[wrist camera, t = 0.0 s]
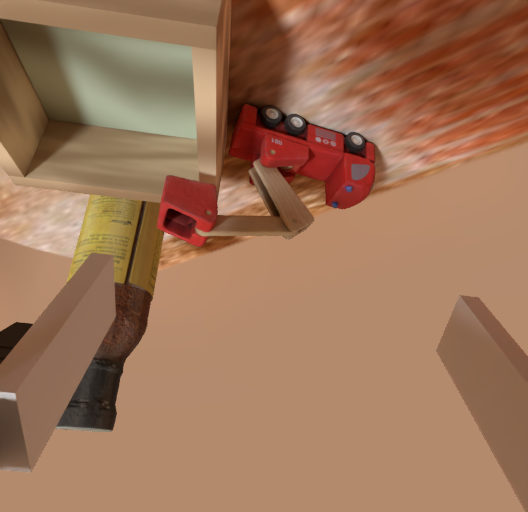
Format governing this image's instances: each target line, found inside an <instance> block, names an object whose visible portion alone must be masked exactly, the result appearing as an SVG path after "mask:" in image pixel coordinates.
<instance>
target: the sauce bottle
mask: <svg viewBox="0 0 528 512" xmlns="http://www.w3.org/2000/svg"><path fill="white" fill-rule="evenodd" d="M159 209H160V203H157V202H149V201H141V200H133V199H125V198H116V197H108V196H100V195H92V194H90V197H89V201H88V205H87V208H86V212H85V216H84V220H83V224H82V228H81V231H80V235H79V239H78V242H77V246H76V250H75V253H74V257H73V261H72V265H71V268H70V272H69V276H68V279H67V282H68V281H69V280H70V279H71V277H72V276H73V275H74V274H75V273H76V271H77V270H78V269H79V268H80V266H81V265H82V264H83V263H84V262H85V260H86V259H87V258H88V257H89V255H90V254H91V253H100V254H109V255H113V261H114V284H115V308H116V317H115V319H114V321H113V322H112V324H111V326H110V328H109V330H108V332H107V333H106V335H105V337H104V339H103V341H102V343H101V345H100V346H99V348H98V350H97V352H96V354H95V356H94V357H93V359H92V361H91V363H90V365H89V367H88V369H87V370H86V372H85V374H84V376H83V378H82V380H81V381H80V383H79V385H78V387H77V389H76V391H75V392H74V394H73V396H72V398H71V400H70V402H69V404H68V405H67V407H66V409H65V411H64V413H63V415H62V416H61V418H60V420H59V422H58V424H57V426H56V427H55V429H65V430H82V431H94V432H111V431H112V430H113V427H114V423H115V418H116V414H117V412H116V406H115V402H116V398H117V392H118V388H119V382H120V377H121V375H122V373H123V366H124V362H125V360H126V358H127V357H128V356H129V355H130V353H131V352H132V351H133V349H134V348H135V347H136V346H137V344H138V343H139V342H140V340H141V338H142V336H143V335H144V333H145V330H146V327H147V321H148V314H149V308H150V302H151V301H152V299H153V294H154V288H155V281H156V276H157V270H158V264H159V259H160V253H161V247H162V241H163V235H164V231H162V230H160V229H158V228H157V222H158V215H159ZM66 284H67V283H66Z"/></svg>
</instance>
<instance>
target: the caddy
mask: <svg viewBox="0 0 528 512" xmlns="http://www.w3.org/2000/svg"><path fill="white" fill-rule="evenodd" d="M231 6H232V0H0V165H1V166H2V168H3V169H4V170H5V172H6V173H7V174H8V176H9V177H10V178H11V180H12V181H13V182H14V184H15V185H20V186H28V187H36V188H44V189H52V190H60V191H68V192H76V193H84V194H92V195H100V196H108V197H116V198H125V199H133V200H141V201H149V202H157V203H160V202H161V198H162V193H163V189H164V183H165V179H166V175H173V176H177V177H181V178H185V179H189V180H195V181H199V182H204V183H209V184H213V185H215V186H216V191H217V200H218V194H219V187H220V181H221V174H222V168H223V161H224V155H225V149H226V142H227V118H228V90H229V62H230V34H231Z"/></svg>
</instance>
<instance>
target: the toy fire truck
mask: <svg viewBox="0 0 528 512" xmlns="http://www.w3.org/2000/svg"><path fill="white" fill-rule="evenodd" d="M281 119H282V115H281V112H280V111H279V110H278V109H277V108H276V107H273V106H266V107H264V108H263V109H262V111H261V113H260V114H257V108H256V107H253V106H251V105H247V104H245V105H244V106H243V107H242V110H241V113H240V115H239V118H238V121H237V123H236V126H235V129H234V132H233V134H232V140H231V145H230V150H229V155H230V156H234V157H238V158H241V159H244V160H248V161H252V162H251V169H250V170H249V174H250V183H251V184H252V185H255V186H256V188H257V190H258V192H259V194H260V195H261V197H262V199H263V201H264V203H265V205H266V207H267V209H268V211H269V213H270V215H271V216H223V215H217V214H218V211H217V208H218V207H217V191H216V186H215V185H213V184H209V183H204V182H199V181H195V180H189V179H185V178H181V177H177V176H173V175H166V179H165V183H164V189H163V193H162V198H161V202H160V209H159V215H158V222H157V228H158V229H160V230H162V231H164V232H166V233H168V234H171V235H173V236H175V237H177V238H180V239H182V240H184V241H186V242H188V243H191V244H193V245H195V246H198V247H199V246H203V245H204V244H205V242H206V240H207V238H208V236H283V237H284V238H285V239H291V238H293V237H294V236H296V235H297V234H299V233H301V232H302V231H304V230H306V229H307V228H308V227H309V226H310V224H311V223H312V222H313V221H314V217H313V216H312V214H311V213H310V212H309V210H308V209H307V208H306V206H305V205H304V204H303V202H302V201H301V200H300V198H299V197H298V196H297V194H296V193H295V192H294V190H293V189H292V188H291V186H290V185H289V184H290V183H291V182H292V180H293V179H294V177H295V174H299V175H303V176H306V177H310V178H313V179H317V180H321V181H325V187H326V188H325V190H326V205H328V206H331V207H333V208H339V209H346V208H349V207H352V206H354V205H356V204H358V203H360V202H361V201H363V200H364V199H365V198H366V197H367V196H368V195H369V193H370V191H371V189H372V187H373V183H374V178H375V165H374V163H375V149H374V145H373V144H372V143H369V142H366V143H365V141H364V138H363V137H362V136H361V135H360V134H358V133H356V132H351V133H349V134H348V135H347V136H346V137H344V136H343V135H342V134H340V133H336V132H333V131H330V130H327V129H323V128H320V127H317V126H313V125H310V124H309V125H307V126H306V123H305V121H304V119H303V118H302V117H300V116H299V115H297V114H291V115H288V117H287V118H286V120H285V121H284V122H281Z"/></svg>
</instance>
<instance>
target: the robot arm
mask: <svg viewBox="0 0 528 512" xmlns="http://www.w3.org/2000/svg"><path fill="white" fill-rule="evenodd" d="M115 317H116V308H115V284H114V261H113V255H109V254H100V253H91V254H90V255H89V257H88V258H87V259H86V260H85V262H84V263H83V264H82V265H81V266H80V268H79V269H78V270H77V271H76V273H75V274H74V275H73V276H72V277H71V279H70V280H69V281H68V282H67V284H66V285H65V286H64V287H63V288H62V290H61V291H60V292H59V293H58V295H57V296H56V297H55V298H54V299H53V301H52V302H51V303H50V304H49V306H48V307H47V308H46V309H45V310H44V312H43V313H42V314H41V316H40V317H39V318H38V319H37V320H36V322H35V323H34V324H29V323H19V322H16V323H14V324H12V325H11V326H9V327H7V328H6V329H4V330H2V331H1V332H0V470H10V471H22V472H32V470H33V468H34V466H35V464H36V463H37V460H38V459H39V457H40V455H41V453H42V451H43V449H44V448H45V446H46V444H47V442H48V440H49V439H50V436H51V435H52V433H53V431H54V429H55V427H56V426H57V424H58V422H59V420H60V418H61V416H62V415H63V413H64V411H65V409H66V407H67V405H68V404H69V402H70V400H71V398H72V396H73V394H74V392H75V391H76V389H77V387H78V385H79V383H80V381H81V380H82V378H83V376H84V374H85V372H86V370H87V369H88V367H89V365H90V363H91V361H92V359H93V357H94V356H95V354H96V352H97V350H98V348H99V346H100V345H101V343H102V341H103V339H104V337H105V335H106V333H107V332H108V330H109V328H110V326H111V324H112V322H113V321H114V319H115ZM437 353H438V355H439V357H440V358H441V360H442V362H443V364H444V366H445V367H446V369H447V371H448V373H449V375H450V376H451V378H452V380H453V382H454V384H455V385H456V387H457V389H458V391H459V393H460V394H461V396H462V398H463V400H464V401H465V404H466V405H467V407H468V409H469V411H470V412H471V414H472V416H473V418H474V420H475V422H476V423H477V425H478V427H479V429H480V431H481V432H482V434H483V436H484V438H485V440H486V441H487V443H488V445H489V447H490V449H491V451H492V452H493V454H494V456H495V458H496V459H497V461H498V463H499V465H500V467H501V469H502V470H503V472H504V474H505V476H506V478H507V479H508V481H509V483H510V485H511V486H512V488H513V490H514V492H515V494H516V495H517V497H518V499H519V501H520V503H521V505H522V506H523V508H524V510H525V512H528V356H527V355H526V354H525V352H524V351H523V350H522V349H521V348H520V346H519V345H518V344H517V343H516V342H515V340H514V339H513V338H512V337H511V336H510V335H509V333H508V332H507V331H506V330H505V328H504V327H503V326H502V325H501V324H500V322H499V321H498V320H497V319H496V318H495V316H494V315H493V314H492V313H491V312H490V310H489V309H488V308H487V307H486V306H485V305H484V303H483V302H482V301H481V300H480V298H478V297H470V296H461V295H460V296H459V298H458V300H457V303H456V305H455V307H454V310H453V312H452V315H451V317H450V319H449V322H448V324H447V327H446V329H445V331H444V333H443V336H442V338H441V341H440V343H439V346H438V348H437Z"/></svg>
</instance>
